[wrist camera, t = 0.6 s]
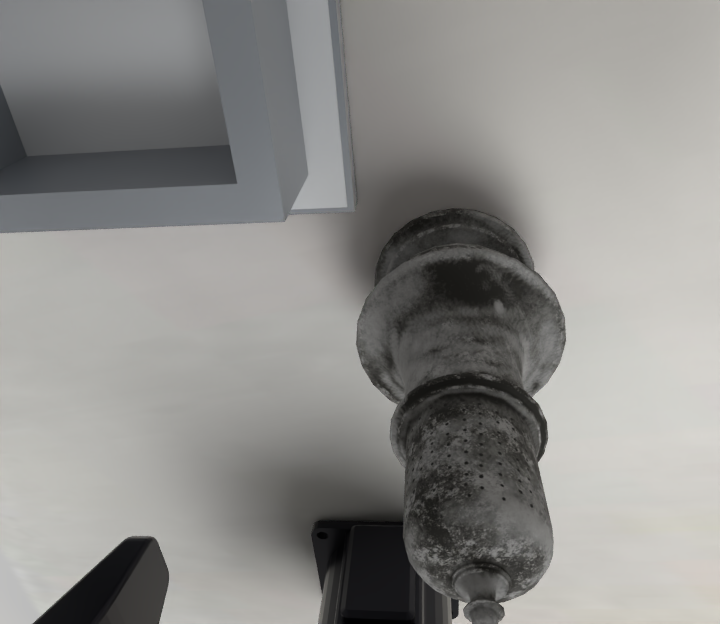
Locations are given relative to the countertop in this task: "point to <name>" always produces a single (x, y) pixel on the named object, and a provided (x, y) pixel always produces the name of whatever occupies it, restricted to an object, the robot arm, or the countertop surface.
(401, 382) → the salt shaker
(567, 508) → the countertop surface
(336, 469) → the countertop surface
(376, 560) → the robot arm
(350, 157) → the dock
